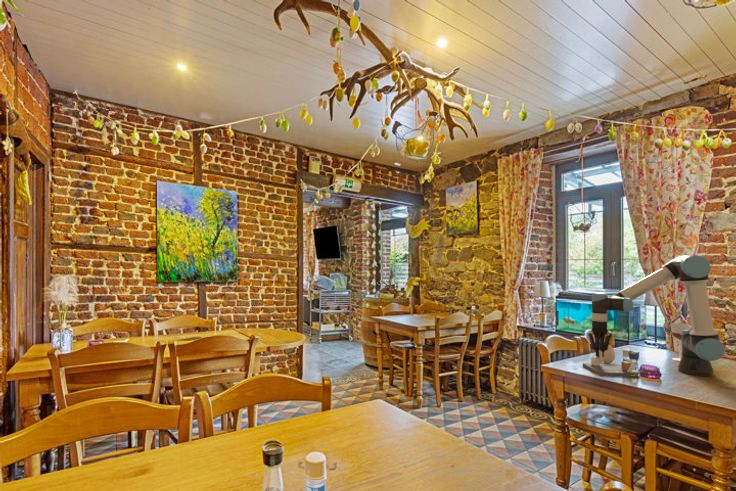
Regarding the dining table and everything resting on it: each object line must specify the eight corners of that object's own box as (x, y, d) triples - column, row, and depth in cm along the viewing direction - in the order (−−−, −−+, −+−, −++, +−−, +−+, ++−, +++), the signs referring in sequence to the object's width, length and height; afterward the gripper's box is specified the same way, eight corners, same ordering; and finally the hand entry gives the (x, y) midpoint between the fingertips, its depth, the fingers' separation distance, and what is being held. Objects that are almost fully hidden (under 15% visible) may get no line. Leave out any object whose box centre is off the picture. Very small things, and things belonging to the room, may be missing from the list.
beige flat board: (618, 367, 225) (618, 363, 225) (638, 377, 207) (638, 373, 208) (582, 366, 226) (582, 362, 226) (599, 376, 208) (599, 372, 208)
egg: (598, 361, 239) (598, 342, 239) (613, 362, 236) (613, 343, 236) (600, 364, 231) (600, 344, 232) (616, 366, 228) (616, 346, 229)
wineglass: (693, 361, 240) (693, 325, 240) (677, 361, 240) (677, 325, 240) (682, 357, 248) (682, 322, 249) (667, 357, 248) (666, 322, 249)
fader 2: (627, 368, 214) (627, 361, 214) (631, 371, 210) (631, 363, 210) (621, 368, 214) (621, 361, 214) (625, 370, 210) (625, 363, 210)
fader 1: (596, 363, 224) (596, 356, 224) (600, 365, 220) (600, 358, 220) (591, 363, 224) (591, 356, 224) (594, 365, 220) (594, 358, 220)
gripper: (607, 319, 226) (607, 361, 225) (584, 319, 226) (584, 360, 226) (615, 321, 218) (615, 364, 218) (591, 321, 219) (591, 364, 218)
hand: (599, 362), depth 222 cm, fingers closed
